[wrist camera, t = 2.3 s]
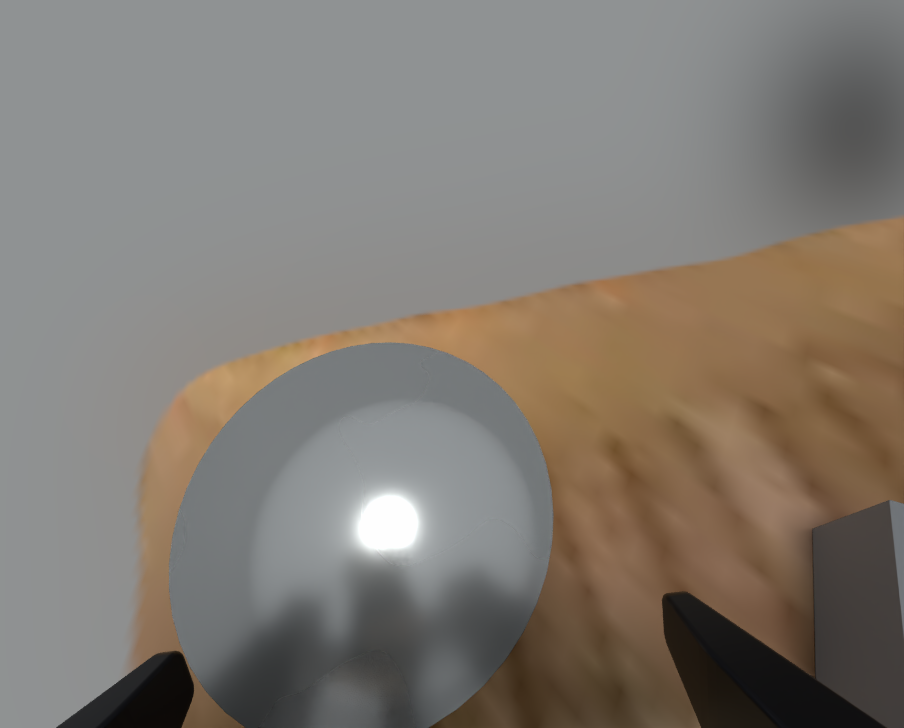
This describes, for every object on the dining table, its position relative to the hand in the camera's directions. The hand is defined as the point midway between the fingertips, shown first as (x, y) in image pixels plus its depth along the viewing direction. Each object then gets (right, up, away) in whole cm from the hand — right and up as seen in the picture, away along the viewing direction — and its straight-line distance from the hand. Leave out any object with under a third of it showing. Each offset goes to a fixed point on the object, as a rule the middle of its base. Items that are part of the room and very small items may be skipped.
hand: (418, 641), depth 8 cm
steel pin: (+1, -4, +9) cm, 9 cm away
